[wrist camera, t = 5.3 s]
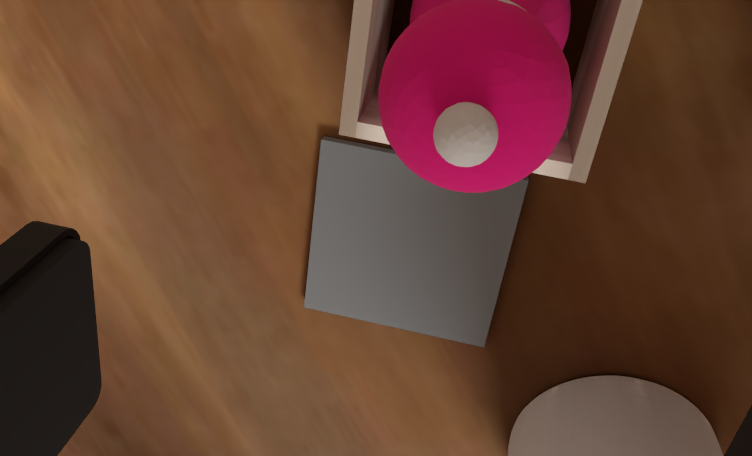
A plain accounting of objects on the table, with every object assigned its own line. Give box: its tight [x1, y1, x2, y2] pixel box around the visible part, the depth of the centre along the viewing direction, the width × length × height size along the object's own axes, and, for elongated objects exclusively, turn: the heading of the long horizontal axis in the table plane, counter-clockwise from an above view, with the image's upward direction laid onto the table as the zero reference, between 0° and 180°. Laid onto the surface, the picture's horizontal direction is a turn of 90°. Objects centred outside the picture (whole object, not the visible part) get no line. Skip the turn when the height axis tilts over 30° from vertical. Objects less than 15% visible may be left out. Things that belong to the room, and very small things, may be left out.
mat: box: [304, 136, 529, 347], centre depth 43 cm, size 12×12×1 cm
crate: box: [339, 0, 643, 183], centre depth 33 cm, size 12×12×7 cm
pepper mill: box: [378, 0, 572, 193], centre depth 27 cm, size 7×7×20 cm
